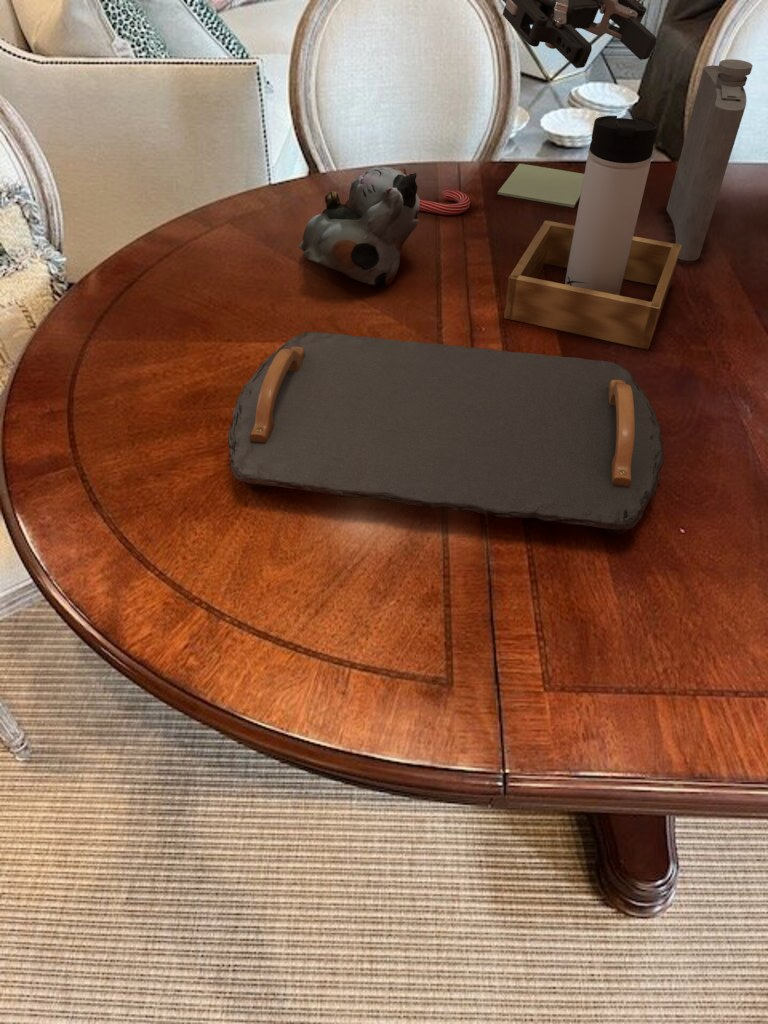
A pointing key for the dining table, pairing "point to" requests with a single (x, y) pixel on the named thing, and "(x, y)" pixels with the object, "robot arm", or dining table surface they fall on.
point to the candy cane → (447, 208)
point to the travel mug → (610, 202)
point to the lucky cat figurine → (365, 226)
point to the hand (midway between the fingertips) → (618, 54)
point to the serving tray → (450, 429)
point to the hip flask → (706, 152)
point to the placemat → (544, 185)
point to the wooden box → (585, 306)
